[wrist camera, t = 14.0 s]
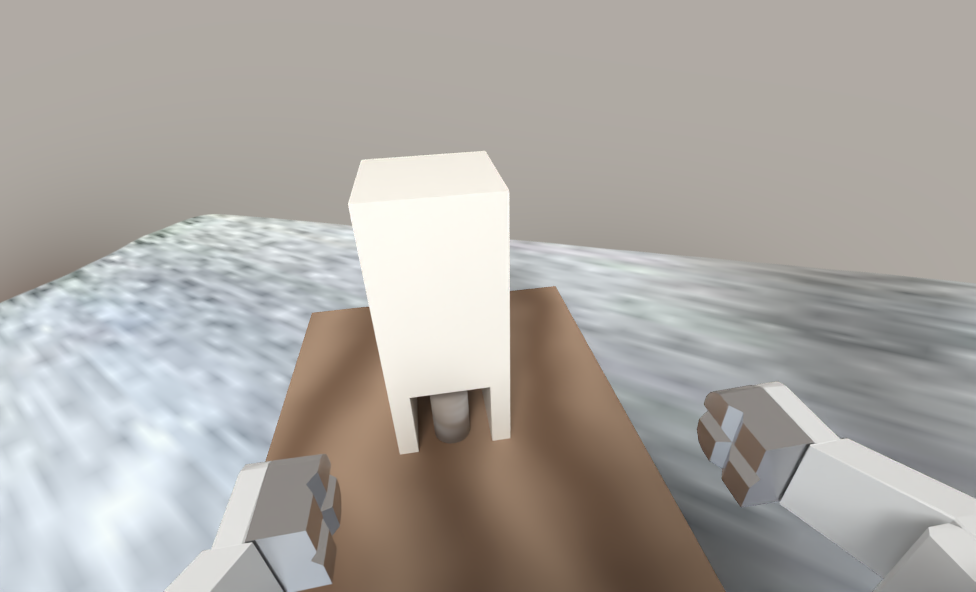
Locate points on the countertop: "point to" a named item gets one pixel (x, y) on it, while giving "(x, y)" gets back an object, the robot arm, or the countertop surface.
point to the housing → (436, 280)
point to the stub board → (488, 471)
